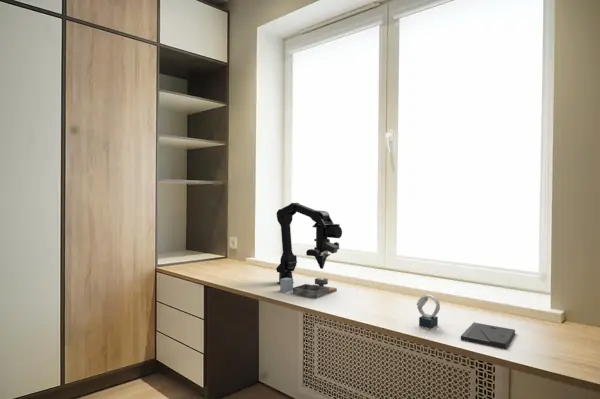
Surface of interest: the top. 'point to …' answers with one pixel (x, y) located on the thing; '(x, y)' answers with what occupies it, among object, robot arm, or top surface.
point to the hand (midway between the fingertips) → (321, 268)
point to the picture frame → (488, 335)
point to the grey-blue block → (286, 285)
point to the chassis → (313, 290)
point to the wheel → (321, 281)
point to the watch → (426, 319)
